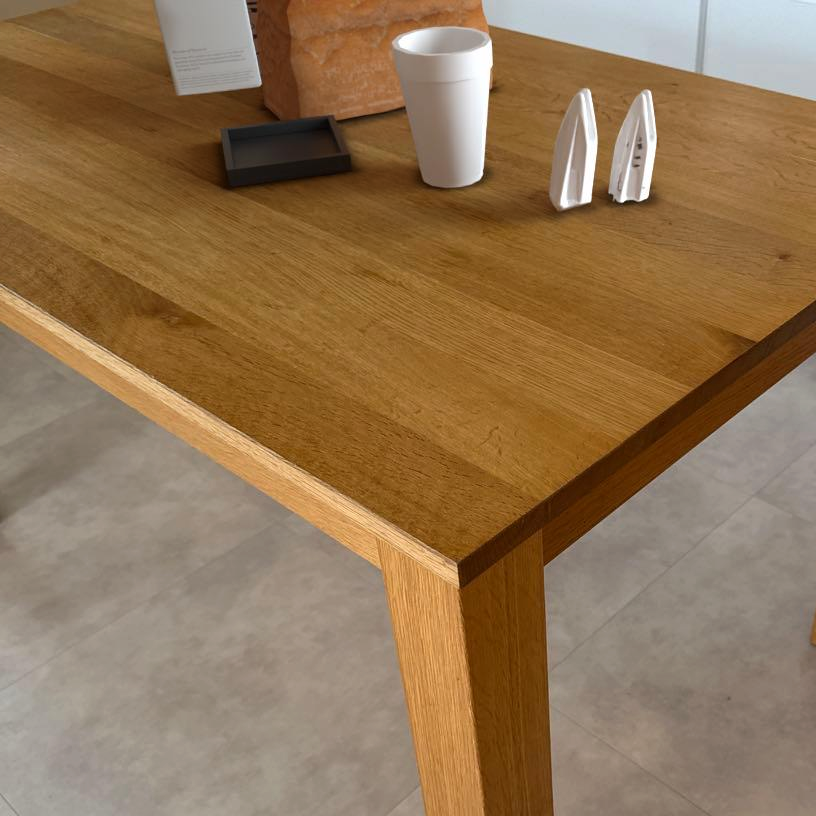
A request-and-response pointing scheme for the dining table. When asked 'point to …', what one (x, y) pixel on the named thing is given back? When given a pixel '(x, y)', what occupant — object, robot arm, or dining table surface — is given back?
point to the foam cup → (446, 100)
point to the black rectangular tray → (284, 150)
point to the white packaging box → (208, 45)
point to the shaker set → (580, 151)
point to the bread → (344, 51)
